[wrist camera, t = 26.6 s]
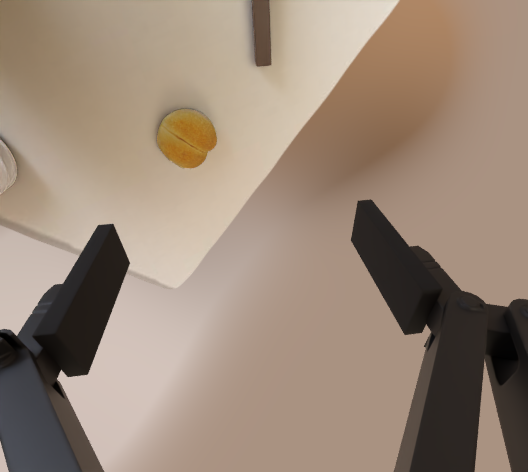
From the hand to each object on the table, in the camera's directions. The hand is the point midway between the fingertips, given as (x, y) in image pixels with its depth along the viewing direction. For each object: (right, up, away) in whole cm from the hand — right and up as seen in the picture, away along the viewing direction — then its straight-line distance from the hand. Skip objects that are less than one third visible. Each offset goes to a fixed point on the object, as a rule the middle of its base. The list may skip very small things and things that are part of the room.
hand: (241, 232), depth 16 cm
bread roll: (-11, +16, +31) cm, 36 cm away
